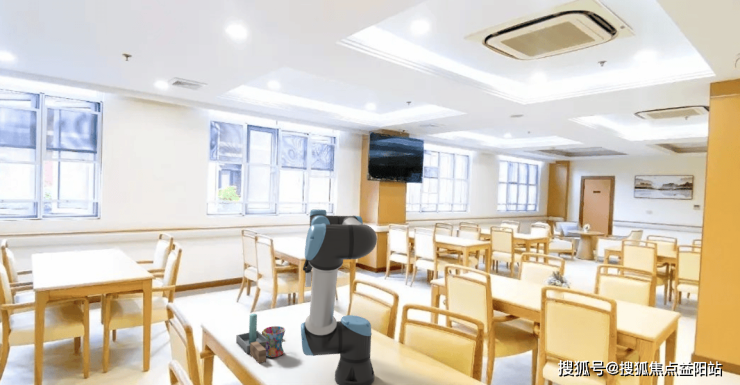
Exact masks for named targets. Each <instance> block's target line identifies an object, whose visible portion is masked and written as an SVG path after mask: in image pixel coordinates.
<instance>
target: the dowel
mask: <svg viewBox="0 0 740 385" xmlns="http://www.w3.org/2000/svg"><path fill="white" fill-rule="evenodd" d="M257 322H258V314H257V313H250V314H249V322H248V323H249V324H248V329H249V331H248V333H249V344H250V343H252V342H256V332H257V331H258V330H257V328H258V327H257V326H258V324H257Z"/></svg>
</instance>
